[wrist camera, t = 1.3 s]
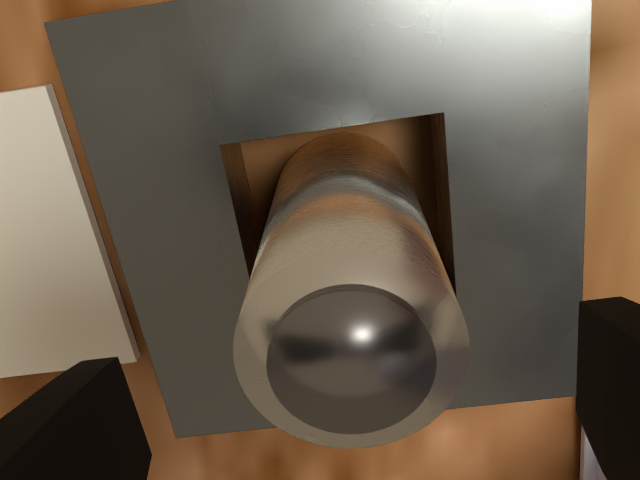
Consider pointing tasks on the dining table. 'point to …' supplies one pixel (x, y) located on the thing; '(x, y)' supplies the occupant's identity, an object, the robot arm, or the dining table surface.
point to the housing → (326, 113)
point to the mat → (51, 249)
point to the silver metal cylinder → (349, 303)
